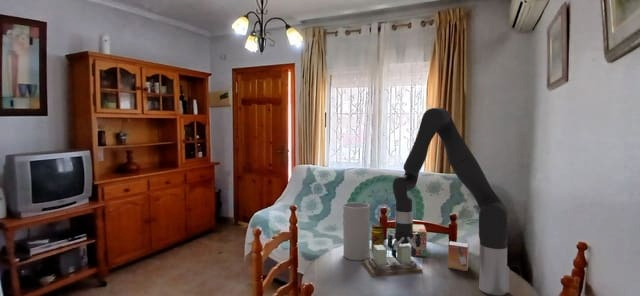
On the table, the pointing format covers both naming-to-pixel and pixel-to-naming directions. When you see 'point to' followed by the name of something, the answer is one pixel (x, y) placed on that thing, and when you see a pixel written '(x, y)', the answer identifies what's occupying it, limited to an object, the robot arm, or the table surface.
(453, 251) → the small box
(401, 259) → the loose block
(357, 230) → the cylinder vase
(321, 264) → the table surface
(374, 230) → the condiment
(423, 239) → the stack of blocks
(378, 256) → the block
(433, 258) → the table surface
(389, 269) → the tray
